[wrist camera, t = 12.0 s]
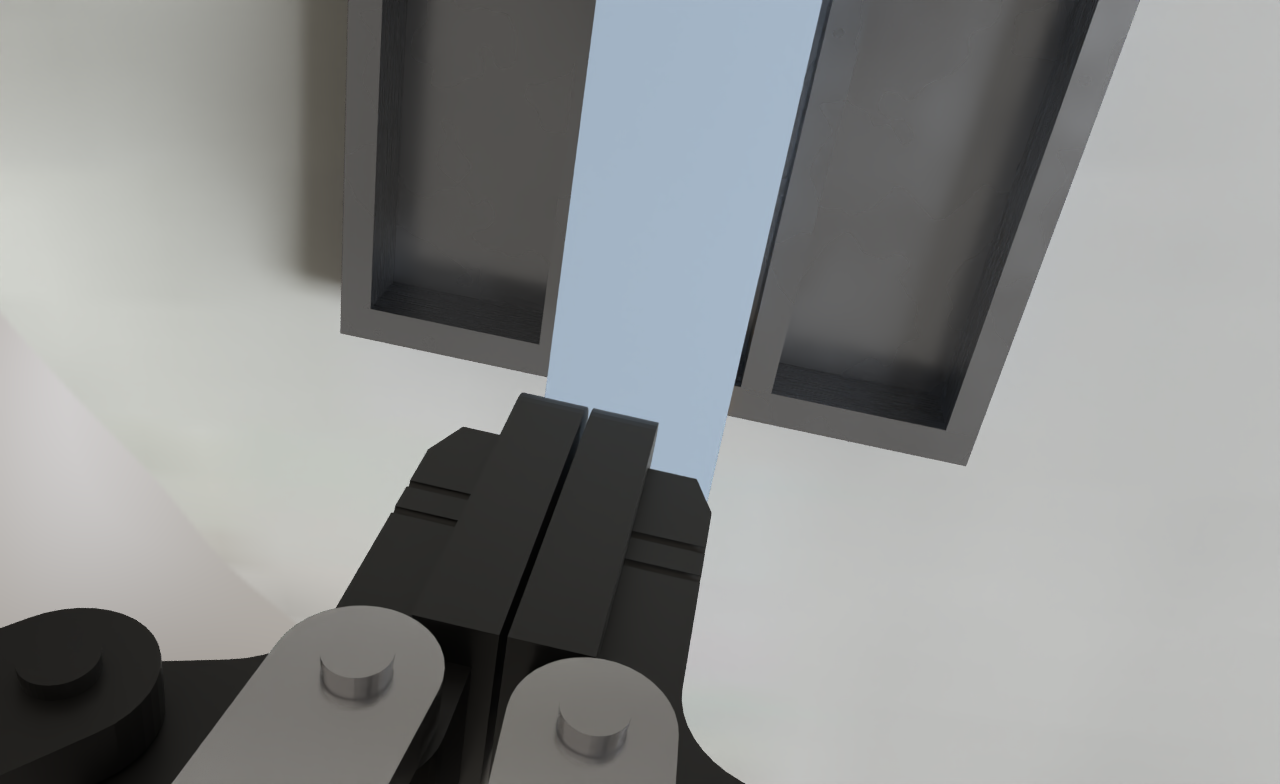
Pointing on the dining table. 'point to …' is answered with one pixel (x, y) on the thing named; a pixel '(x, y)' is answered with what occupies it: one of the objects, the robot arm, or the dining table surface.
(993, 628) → the dining table surface
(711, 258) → the panel
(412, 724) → the robot arm
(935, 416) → the rack
